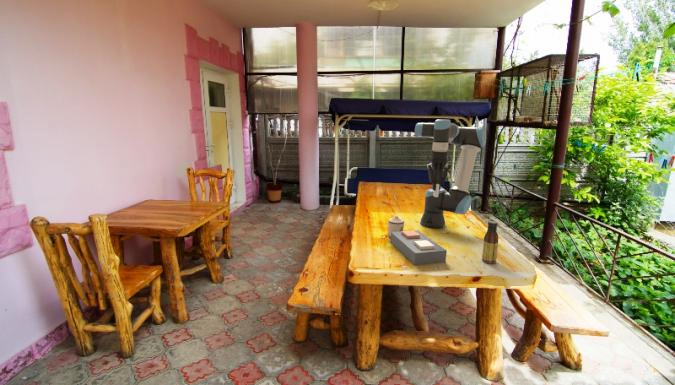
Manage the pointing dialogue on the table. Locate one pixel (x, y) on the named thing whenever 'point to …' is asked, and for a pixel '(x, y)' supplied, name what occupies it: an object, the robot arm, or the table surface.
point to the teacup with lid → (395, 225)
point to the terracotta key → (410, 234)
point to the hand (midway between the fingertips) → (435, 196)
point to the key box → (414, 252)
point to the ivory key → (423, 244)
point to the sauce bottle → (490, 243)
